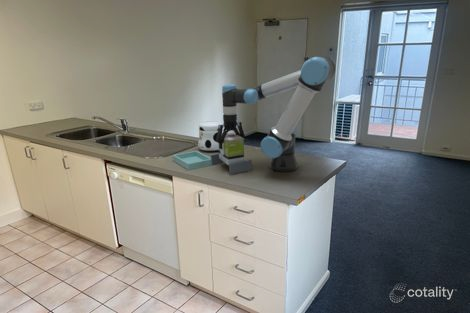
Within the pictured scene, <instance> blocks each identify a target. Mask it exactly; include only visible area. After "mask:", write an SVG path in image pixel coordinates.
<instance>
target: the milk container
mask: <svg viewBox="0 0 470 313" xmlns="http://www.w3.org/2000/svg"><path fill="white" fill-rule="evenodd" d="M219 124H220V125H222V124H223V123H222V122H221V121H203V122H200V123H199V125H198V134H199V135H198V136H199V137H198V143H197V145H198V147H199V149H200V150H201V151H203V152H210V153H211V152H219V146H218V143H217V142H216V137H217V133H218V129H219V126H218V125H219Z"/></svg>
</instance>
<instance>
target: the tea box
mask: <svg viewBox="0 0 470 313" xmlns="http://www.w3.org/2000/svg"><path fill="white" fill-rule="evenodd" d="M223 143H224V155H222V154H221V151H220V149H219V150H218V153H219V159H221V160H222V161H223V162H224V163H225V164H226V165H227V166H228V167H229V164H231V163H235V162H240V161H244V160H245V138H242V137H240V136H238V135H236V134H235V132H228V133H227V135H226V137H225V138H224V141H223ZM218 146H219V143H218Z"/></svg>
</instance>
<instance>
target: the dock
mask: <svg viewBox="0 0 470 313" xmlns="http://www.w3.org/2000/svg"><path fill="white" fill-rule="evenodd" d="M210 158H211V159H212V165H211V166H215V165H218V164H219V165H220V164H223V163H225V162H223V161H222V160H221V159H219V152H218V153H213V154H212V153H211V154H210ZM252 166H253V165H252V159H251V158H249V159H244V161H240V162H235V163H231V164H229V166H228V175H229V176H233V175H237V174H241V173H244V172H248V171H252V170H253V169H252Z"/></svg>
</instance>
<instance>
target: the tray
mask: <svg viewBox="0 0 470 313" xmlns="http://www.w3.org/2000/svg"><path fill="white" fill-rule="evenodd" d="M172 156H173V157H172V158H173V162H175V163H176V164H178V165H179V166H180V167H183V168H185V169H186V170H188V171H191V170H195V169H200V168H204V167H209V166H213V165H212V159H211V156H209V155H206V154H204V153H203V152H202V153H201V152H200V151H198V150H193V151H187V152H182V153H177V154H173V155H172Z"/></svg>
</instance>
